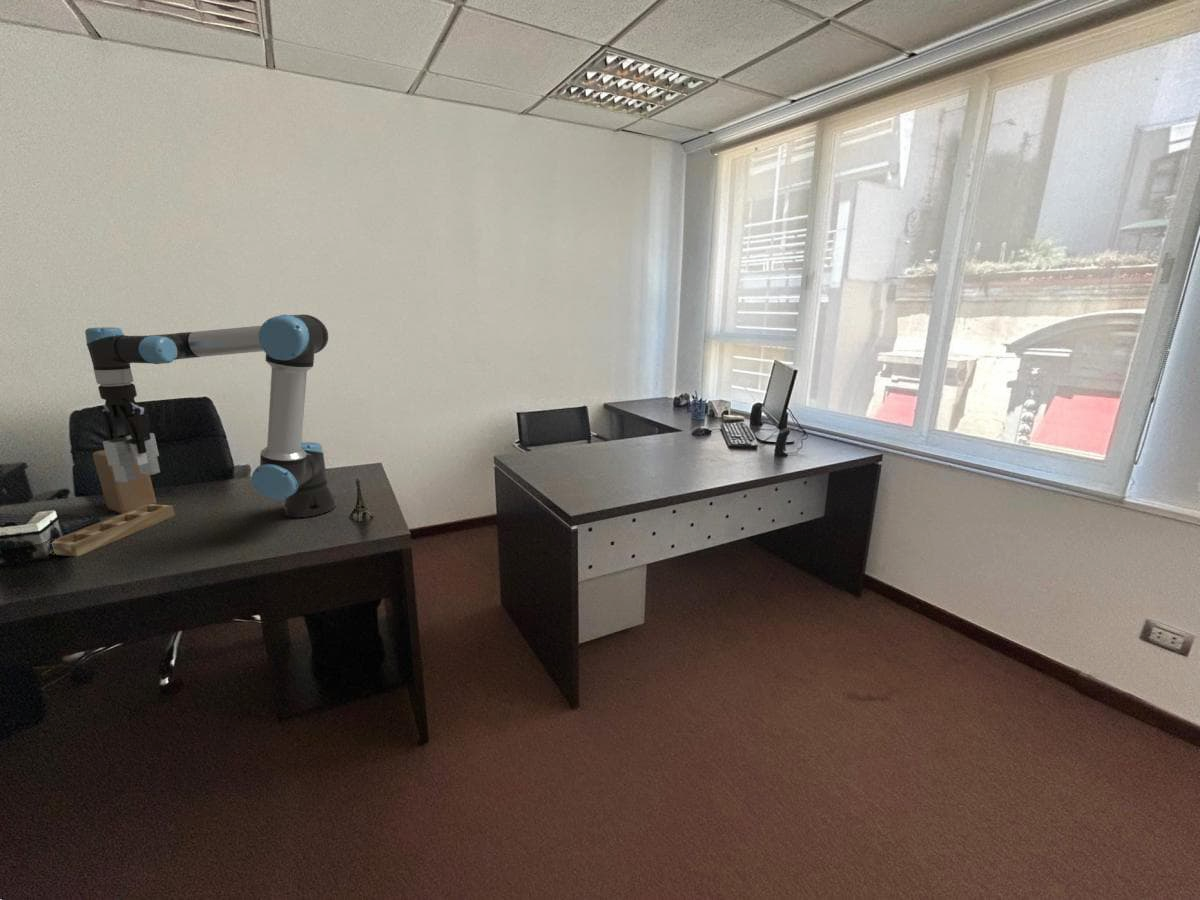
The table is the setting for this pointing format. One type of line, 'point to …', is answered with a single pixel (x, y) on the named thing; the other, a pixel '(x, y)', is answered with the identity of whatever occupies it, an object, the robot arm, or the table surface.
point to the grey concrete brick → (130, 458)
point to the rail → (111, 529)
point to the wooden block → (123, 487)
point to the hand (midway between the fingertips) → (135, 463)
